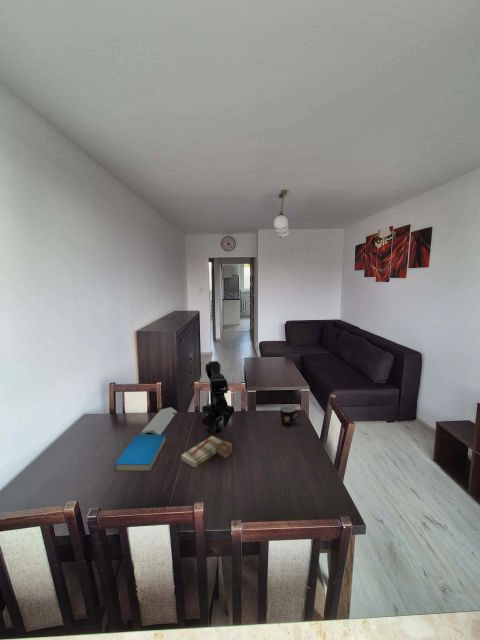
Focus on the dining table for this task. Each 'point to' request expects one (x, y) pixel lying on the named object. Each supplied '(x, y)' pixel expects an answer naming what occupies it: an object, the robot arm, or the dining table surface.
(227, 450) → the block
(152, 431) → the crown molding
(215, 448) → the plank
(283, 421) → the coffee mug
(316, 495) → the dining table surface
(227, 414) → the robot arm
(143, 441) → the book
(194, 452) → the carpenter pencil
